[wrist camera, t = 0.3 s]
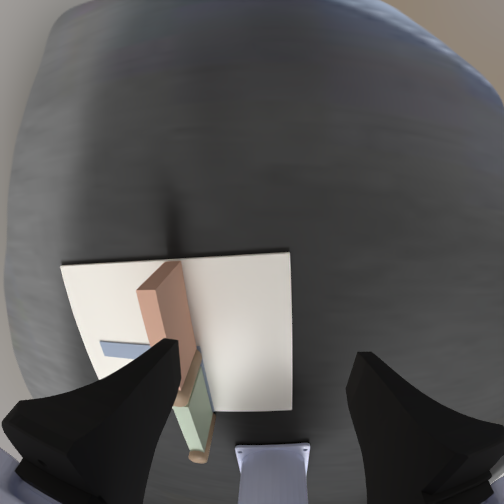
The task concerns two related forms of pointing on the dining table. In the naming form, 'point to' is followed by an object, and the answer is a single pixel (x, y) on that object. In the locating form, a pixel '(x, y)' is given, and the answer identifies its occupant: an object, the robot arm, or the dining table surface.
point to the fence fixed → (197, 421)
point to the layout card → (199, 322)
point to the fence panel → (171, 321)
